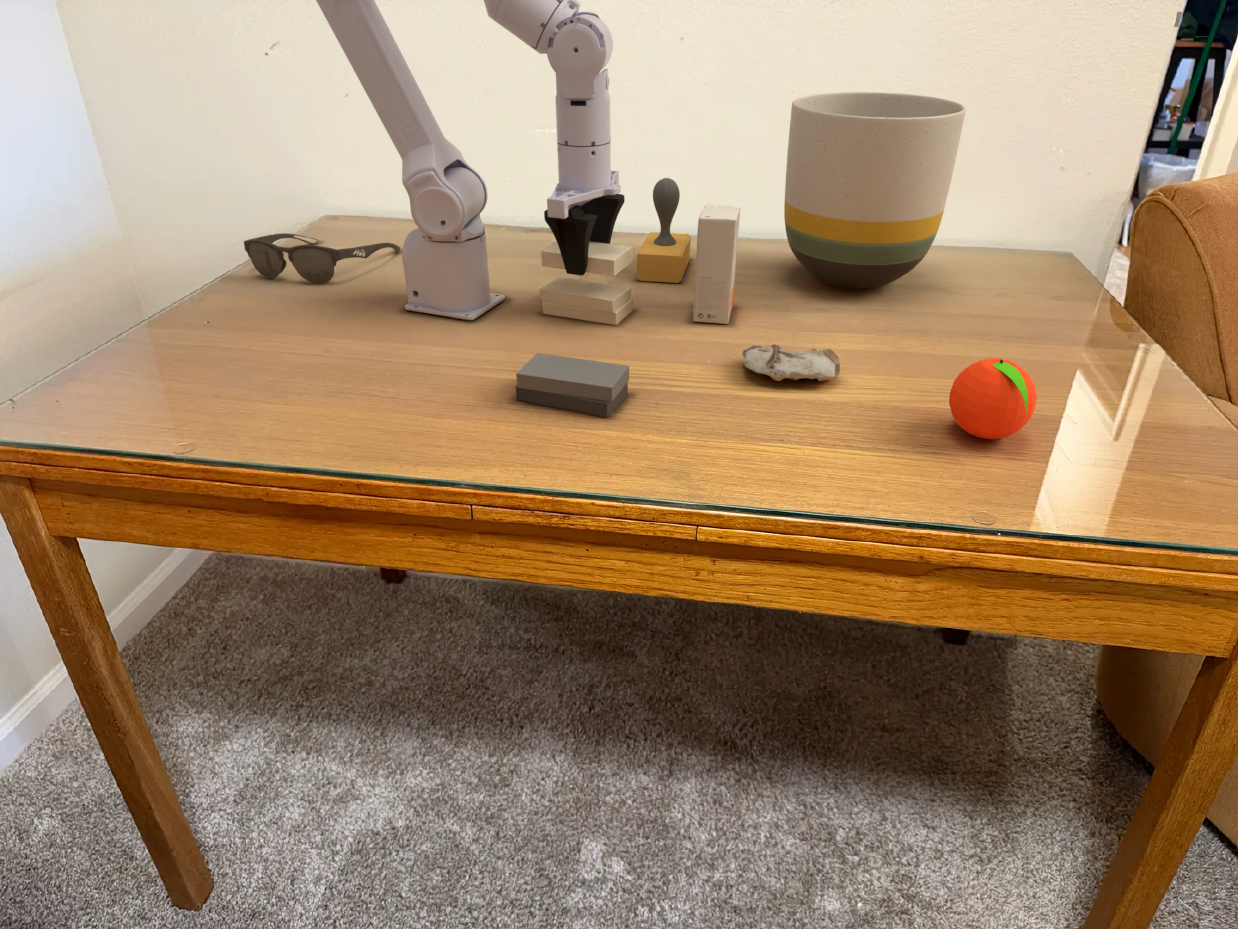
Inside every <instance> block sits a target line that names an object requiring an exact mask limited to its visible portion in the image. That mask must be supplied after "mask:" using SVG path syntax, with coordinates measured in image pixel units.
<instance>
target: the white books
mask: <svg viewBox="0 0 1238 929" xmlns="http://www.w3.org/2000/svg"><path fill="white" fill-rule="evenodd" d="M539 293H540V294H539V295H540V302H541V307H542V308H541V309H542V314H543V315H548V316H556V317H563V318H568V319H574V320H580V321H588V322H594V323H599V324H606V325H611V326H612V325H613V326H617V325H618V324H620V322H622V321H623V320H624V319H625V318H627V316H628V315H630V313H632V312H633V308H634V307H633V306H634V305H633V303H634V302H633V301H634V300H633V298H632V287H631V286H626V285H625V286H624V285H619V284H614V283H606V282H600V281H595V280H588V279H582V278H575V277H570V276H569V277H568V276H563V275H560V276H558V277H556V278H555V279H553V280H552V281H550V282H548V283H547V284H545V285H544V286H542V287H540V288H539Z"/></svg>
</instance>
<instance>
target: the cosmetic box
mask: <svg viewBox="0 0 1238 929" xmlns="http://www.w3.org/2000/svg"><path fill="white" fill-rule="evenodd" d="M740 215H741V207H740V206H731V205H730V206H728V205H714V204H713V205H712V204H705V205H704V207H703V209H702V210H701V212H700V215H699V217H698V219H697V220H698V221H697V233H696V236H697V237H696V256H695V257H696V258H695V274H694V290H693V293H694V294H693V307H692V308H693V311H692V321H693V322H695V323H709V324H720V325H721V324H722V325H728V324H729V322H730V317H731V313H732V309H733V306H734V296H735V294H734V293H735V282H736V270H737V256H738V243H739V232H740Z"/></svg>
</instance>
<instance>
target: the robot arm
mask: <svg viewBox="0 0 1238 929" xmlns="http://www.w3.org/2000/svg"><path fill="white" fill-rule="evenodd" d="M315 1H316V3H317V5H318V7H319V9H320V10H321V12H322V14H323V16H324V18H325V20H326V21H327V23H328V26H329V27H330V29H331V31H332V32H333V34H334V36H335V38H336V40H337V42H338V44H339V45H340V47H341V50H342V52H343V53H344V55H345V57H346V58H347V61H348V62H349V64H350V66H351V68H352V70H353V71H354V73H355V75H356V78H357V79H358V81H359V82H360V84H361V86H362V89H363V90H364V92H365V94H366V95H367V97H368V99H369V101H370V103H371V105H372V107H373V109H374V111H375V113H376V114H377V116H378V118H379V119H380V121H381V123H382V126H383V127H384V129H385V130H386V133H387V134H388V137H389V138H390V140H391V142H392V144H393V146H394V148H395V149H396V151H397V153H398V155H399V156H400V158H401V163H402V164H401V166H402V167H401V181H402V185H403V187H404V189H405V191H406V194H407V195H408V198H409V205H410V206H409V207H410V214H411V217H412V221H413V222H414V224H415V225H416V227H417V228H414V229H412V230H411V231H409V233H408V234H407V235H406V237H405V238H404V242H403V245H402V266H403V274H404V280H405V287H406V295H407V301H408V303H407V304H405V305H404V309H405V310H406V311H410V312H411V311H412V312H417V313H422V314H428V315H429V314H431V315H435V316H442V317H449V318H453V319H461V320H467V321H474V320H476V319H477V318H479V317H481V316H482V315H483V314H485V313H486V312H487V311H489V310H491V309H492V308H494V307H495V306H497V305H498V304H500V303H502V302H503V301H504V300H505V299H506V296H505V294H500V293H492V292H491V284H490V275H489V272H490V271H489V263H488V262H489V261H488V249H487V239H486V238H487V237H486V227H485V224H484V223H483V221H482V218H481V213H482V212H483V211H484V209H485V207H486V206H487V203H488V197H489V196H488V194H489V193H488V187H487V185H486V184H487V183H486V182H485V180H484V178H483V177H482V175H481V174H480V173H479V172H478V171H477V170H476V169H474V168H473V167H472V166H470V164H469V163H468V162H467V161H466V159H465V157H464V156H463V154H462V152H461V150H460V149H459V148H458V147H456V146H455V145H454V144H453V143H452V142H451V141H450V140H448V139H447V138H446V137H445V135H444V133H443V131H442V130H441V128H440V125H439V124H438V122H437V120H436V117H435V115H434V114H433V112H432V110H431V108H430V106H429V104H428V101H427V100H426V98H425V96H424V95H423V92H422V90H421V88H420V87H419V85H418V83H417V81H416V78H415V77H414V75H413V73H412V71H411V69H410V67H409V65H408V63H407V61H406V59H405V57H404V55H403V53H402V52H401V49H400V47H399V46H398V44H397V42H396V39H395V38H394V36H393V34H392V32H391V30H390V29H389V26H388V24H387V22H386V20H385V18H384V16H383V14H382V12H381V10H380V9H379V7H378V5H377V2H376V1H375V0H315ZM483 3H484V6H485V9H486V14H487V16H488V17H489V19H491V20H493V21H494V22H495V23H496V24H498V25H499V26H501V27H502V28H503V29H505V30H507V31H508V32H509V33H511V34H512V35H513V36H514V37H515V38H517V39H519V40H521V41H522V42H523V43H524V44H525V45H527V46H529V48H531V49H533V50H534V51H535V52H536V53H538V54H539V55H546V56H547V60H548V63H549V65H550V67H551V69H552V70H553V72H554V74H555V88H556V90H555V91H556V94H555V119H556V120H555V122H556V148H557V150H556V151H557V169H558V170H557V173H558V183H556V186H555V187H554V190H553V192H552V194H551V196H549V197H547V198H546V204H547V205H546V206H547V208H546V210H544V212H543V218H544V222H545V223H546V224H547V226H548V227H549V229H550V230H551V233H552V234H553V236H554V238H555V242H557V243H558V246H559V249H560V252H561V256H562V259H563V263H564V266H565V269H566V270H565V269H564V270H565V272H566V274H568V275H574V276H580V277H581V276H583V277H584V275H585V274H586V273H587V272H586V268H587V262H588V249H589V242H599V243H607V244H611V241H612V236H613V233H614V228H615V225H616V221H617V219H618V216H619V214H620V211H621V209H622V207H623V206H624V204H625V202H626V201H625V195H624V194H622V193H621V191H622V190H621V189H622V187H621V185H620V179H619V178H620V176H619V175H620V172H619V170H612V162H611V158H612V157H611V156H612V154H611V147H612V146H611V145H612V144H611V95H610V93H609V92H610V91H609V87H610V77H609V68H605V67H606V66H608V64H609V62H610V60H611V58H612V54H613V50H614V49H613V48H614V43H613V42H614V41H613V36H612V33H611V31H610V28H609V27H608V25H607V24H606V23H605V21H603V20H602V19H601V17H600V16H599V15H598V14H597V13H596V12H593V11H580V7H581V5H582V2H580V1H579V0H483Z"/></svg>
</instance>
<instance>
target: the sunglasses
mask: <svg viewBox="0 0 1238 929" xmlns="http://www.w3.org/2000/svg"><path fill="white" fill-rule="evenodd" d="M284 239H294V240H297V241H298V240H299V241H301V242H304V243H306V244H303V245H296V246H295V245H294V246H291V247H285V246H279V245H277V244H274V243H275V242H277V241H280V240H284ZM319 241H320V240H319V239H317V238H313V237H309V236H304V235H301V234H295V233H287V232H286V233H285V232H283V233H273V234H269V235H268V234H267V235H264V236H259V237H254V238H249V239H246V240H244V241H243V246H244V251H245V252H246V253H247V256H248V258H249V259H250V261H251V263H252V265H253V267H254V269H255V270H256V272H258V273H259V275H261V276H263V278H267V279H271V280H272V279H276V278H278V277H279V276H280V274H281V273H283V272H284V270H285V268H286V267H287V260H286V259H285V255H284V253H287V258H288V261H289V262H290V263H291V265H292V266H293V268H294V269H295V271H296V273H297V274H298V275H299V276H300V277H301V278H302V279H304V280H305V281H306V282H309V283H311V284H326V283H328V282H330V281H331V280H332V279H333V277H334V275H335V267H337V264H338V263H337V262H339V261H343V260H346V259H352V258H353V259H355V258H360V259H368V258H369V257H371V255H373V254H374V253H376V252H377V251H378V252H379V250H382V249H386V248H390V249H393V250H394V251H395V252H396V253H398V254H399V253H400V250H401V247H400V246H399V245H397V244H395V243H393V242H379V243H373V244H367V245H361V246H355V247H347V248H339V249H337V248H332V247H328V246H322V245H315V244H317V243H319Z"/></svg>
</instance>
